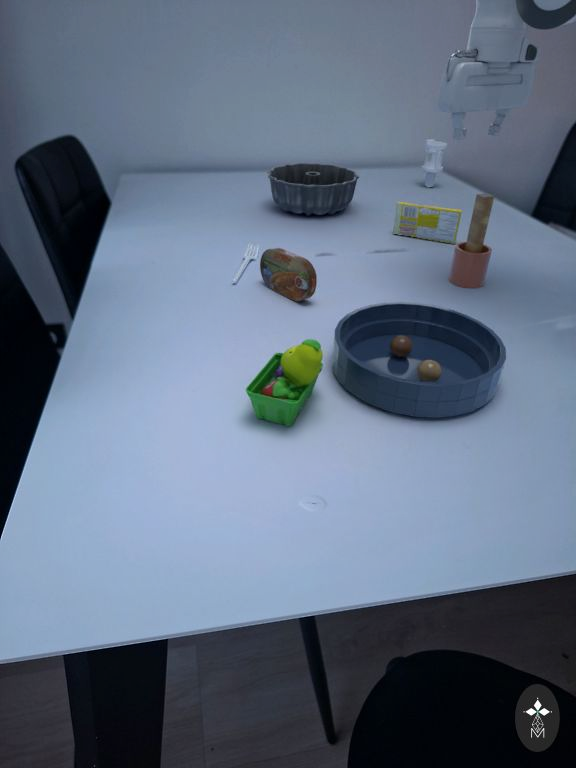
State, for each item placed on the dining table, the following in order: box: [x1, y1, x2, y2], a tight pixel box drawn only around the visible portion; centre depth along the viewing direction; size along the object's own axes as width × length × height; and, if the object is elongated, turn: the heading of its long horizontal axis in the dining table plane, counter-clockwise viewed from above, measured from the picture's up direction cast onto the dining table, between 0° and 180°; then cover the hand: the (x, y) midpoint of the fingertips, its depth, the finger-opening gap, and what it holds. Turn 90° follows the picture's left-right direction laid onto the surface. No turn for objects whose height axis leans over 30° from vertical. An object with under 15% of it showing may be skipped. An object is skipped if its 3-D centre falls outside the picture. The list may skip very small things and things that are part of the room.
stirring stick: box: [465, 192, 495, 253], centre depth 109 cm, size 2×2×18 cm
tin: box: [259, 247, 318, 303], centre depth 106 cm, size 15×3×8 cm, turn 40°
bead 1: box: [390, 335, 413, 357], centre depth 86 cm, size 4×4×4 cm
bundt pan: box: [267, 162, 360, 217], centre depth 156 cm, size 26×26×10 cm
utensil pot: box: [448, 241, 493, 290], centre depth 112 cm, size 7×7×8 cm
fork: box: [232, 243, 260, 284], centre depth 119 cm, size 3×20×2 cm, turn 171°
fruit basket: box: [245, 338, 324, 427], centre depth 73 cm, size 11×9×11 cm
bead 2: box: [417, 360, 442, 382], centre depth 80 cm, size 4×4×4 cm
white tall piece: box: [420, 138, 448, 187], centre depth 178 cm, size 7×7×15 cm
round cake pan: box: [331, 301, 507, 418], centre depth 83 cm, size 26×26×6 cm
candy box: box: [392, 201, 463, 245], centre depth 136 cm, size 16×2×8 cm, turn 65°
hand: (476, 137), depth 99 cm, fingers open, 8 cm apart
